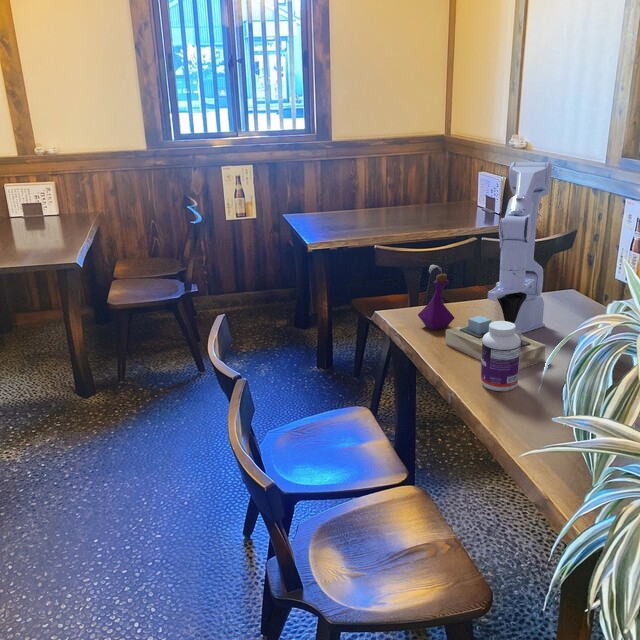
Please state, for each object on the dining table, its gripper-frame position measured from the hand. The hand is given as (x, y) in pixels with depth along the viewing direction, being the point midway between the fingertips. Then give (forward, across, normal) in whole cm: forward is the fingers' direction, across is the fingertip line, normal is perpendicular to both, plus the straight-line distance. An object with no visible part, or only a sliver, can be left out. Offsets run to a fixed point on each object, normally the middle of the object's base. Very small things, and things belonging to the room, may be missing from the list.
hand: (509, 322), depth 149 cm
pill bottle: (+10, +13, +8) cm, 18 cm away
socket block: (+10, 0, -5) cm, 11 cm away
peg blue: (+7, -1, -10) cm, 12 cm away
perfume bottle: (+10, -3, -27) cm, 29 cm away
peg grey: (+7, 0, 0) cm, 7 cm away
